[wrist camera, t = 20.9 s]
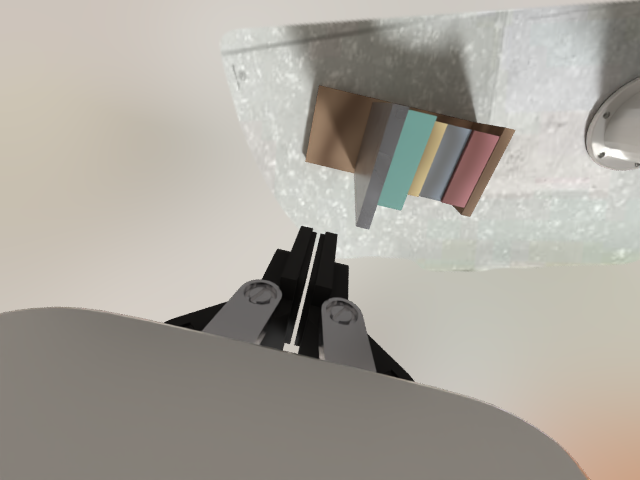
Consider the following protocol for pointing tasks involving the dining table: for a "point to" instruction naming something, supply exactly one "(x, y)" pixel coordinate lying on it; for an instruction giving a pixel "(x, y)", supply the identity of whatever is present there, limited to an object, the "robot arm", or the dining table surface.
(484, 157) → the book rack
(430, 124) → the loose book
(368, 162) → the bookend
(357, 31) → the dining table surface
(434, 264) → the dining table surface
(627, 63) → the dining table surface
